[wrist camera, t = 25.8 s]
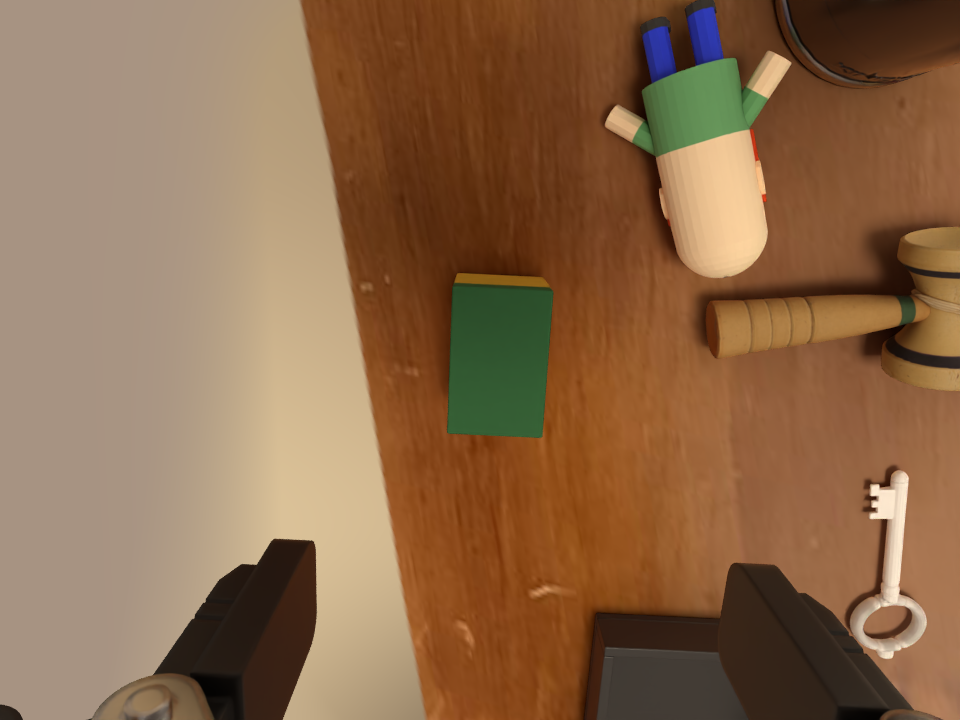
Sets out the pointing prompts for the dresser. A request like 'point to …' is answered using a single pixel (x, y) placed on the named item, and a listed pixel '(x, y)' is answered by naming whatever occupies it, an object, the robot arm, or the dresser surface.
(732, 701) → the pan
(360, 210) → the dresser surface
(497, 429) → the sponge
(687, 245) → the toy figurine
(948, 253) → the kendama
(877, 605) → the key
